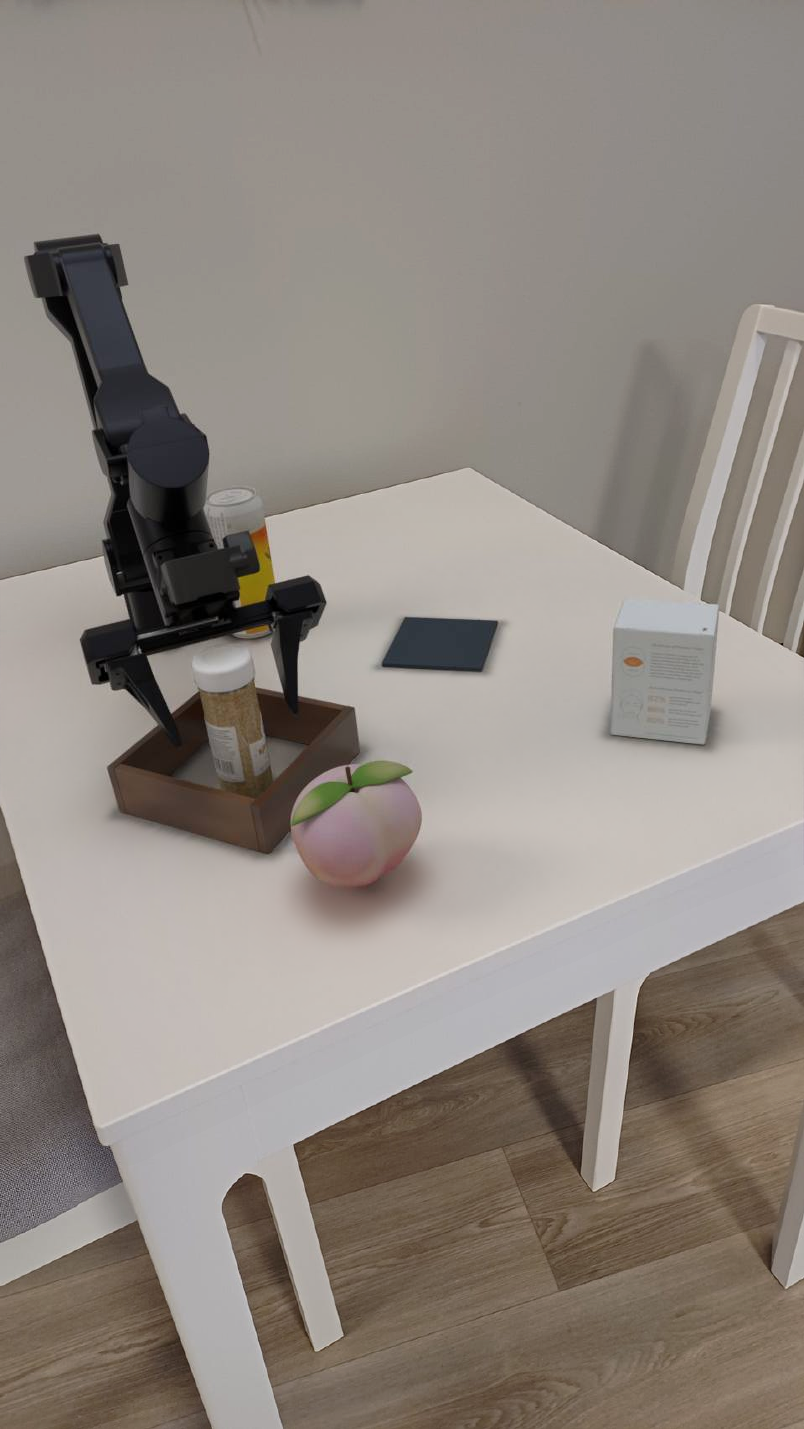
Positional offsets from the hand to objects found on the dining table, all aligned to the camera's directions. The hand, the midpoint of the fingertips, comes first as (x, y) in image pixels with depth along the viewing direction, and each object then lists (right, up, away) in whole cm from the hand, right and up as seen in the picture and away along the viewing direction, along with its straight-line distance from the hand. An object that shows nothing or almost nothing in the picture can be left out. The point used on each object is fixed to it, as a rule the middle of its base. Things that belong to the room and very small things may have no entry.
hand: (238, 730), depth 76 cm
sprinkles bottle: (0, -6, +5) cm, 8 cm away
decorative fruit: (+10, -11, -4) cm, 15 cm away
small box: (+35, 0, +10) cm, 36 cm away
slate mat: (+17, +8, +25) cm, 31 cm away
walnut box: (-1, -4, +7) cm, 8 cm away
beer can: (-3, +10, +31) cm, 33 cm away
